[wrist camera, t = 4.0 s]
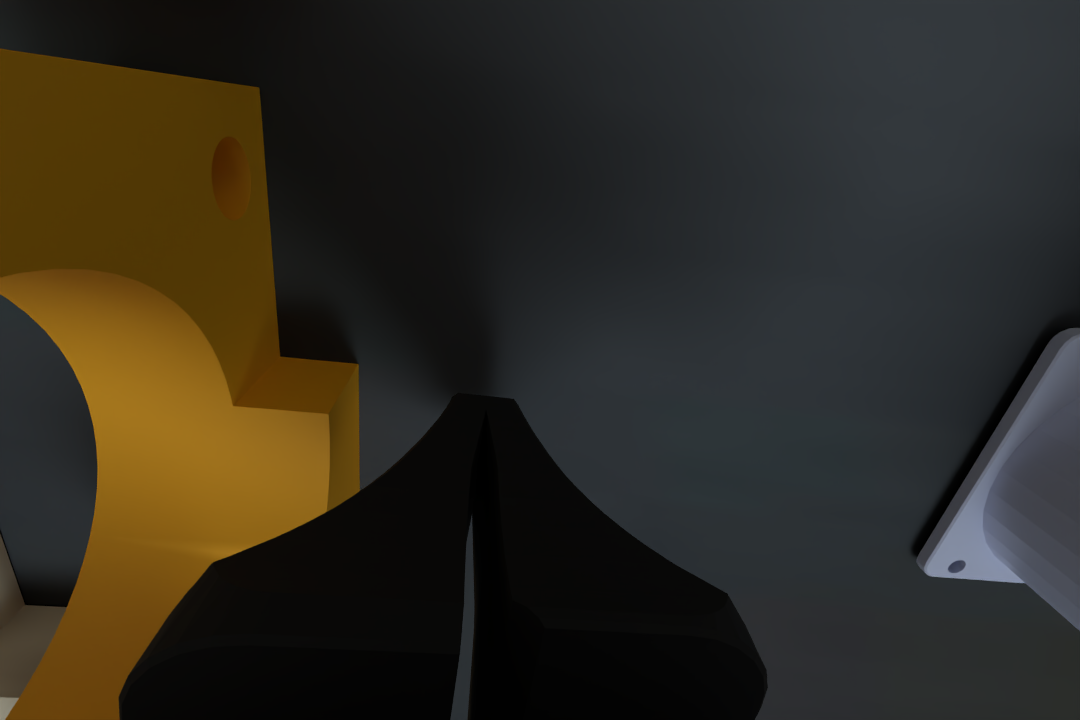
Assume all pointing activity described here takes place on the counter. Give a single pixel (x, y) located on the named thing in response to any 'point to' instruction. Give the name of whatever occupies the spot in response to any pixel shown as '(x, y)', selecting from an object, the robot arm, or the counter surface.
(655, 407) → the counter surface
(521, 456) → the robot arm
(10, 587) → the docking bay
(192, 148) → the pipe clamp
